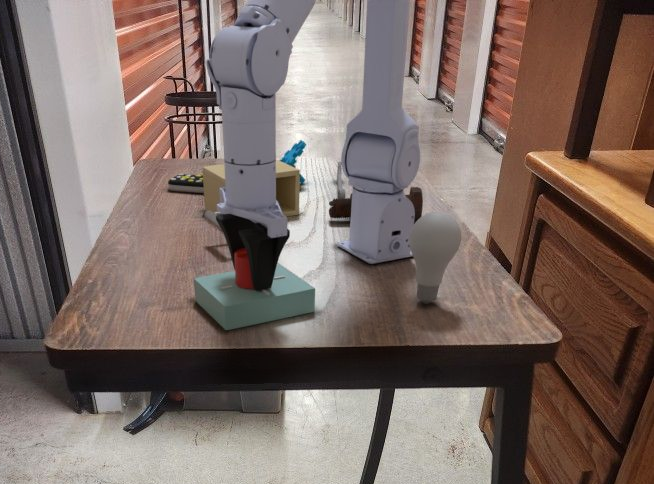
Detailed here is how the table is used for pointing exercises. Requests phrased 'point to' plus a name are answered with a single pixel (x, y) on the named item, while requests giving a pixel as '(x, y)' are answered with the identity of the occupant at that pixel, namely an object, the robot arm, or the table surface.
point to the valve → (242, 269)
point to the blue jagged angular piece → (294, 156)
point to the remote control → (187, 183)
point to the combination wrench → (340, 183)
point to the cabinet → (284, 187)
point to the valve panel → (253, 299)
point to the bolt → (343, 206)
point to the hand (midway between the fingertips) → (253, 280)
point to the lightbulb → (433, 250)
